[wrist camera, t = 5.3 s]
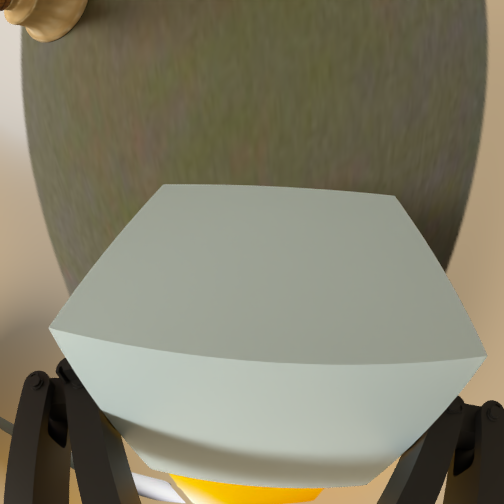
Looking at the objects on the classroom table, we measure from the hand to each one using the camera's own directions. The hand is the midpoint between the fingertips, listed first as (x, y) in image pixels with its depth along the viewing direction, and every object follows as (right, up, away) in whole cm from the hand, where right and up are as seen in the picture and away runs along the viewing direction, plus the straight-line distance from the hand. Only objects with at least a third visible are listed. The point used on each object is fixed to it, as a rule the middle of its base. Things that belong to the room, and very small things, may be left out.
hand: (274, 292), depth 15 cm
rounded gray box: (0, 0, +1) cm, 1 cm away
